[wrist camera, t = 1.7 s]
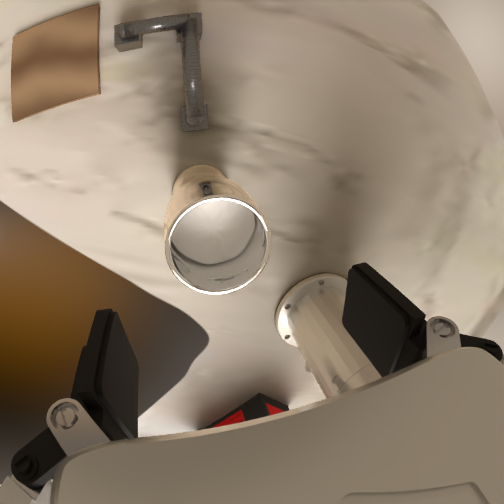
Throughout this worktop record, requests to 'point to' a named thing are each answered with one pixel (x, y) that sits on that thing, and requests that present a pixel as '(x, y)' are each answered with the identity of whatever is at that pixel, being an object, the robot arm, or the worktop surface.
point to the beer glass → (214, 232)
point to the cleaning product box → (251, 411)
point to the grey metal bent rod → (189, 36)
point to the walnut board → (55, 63)
